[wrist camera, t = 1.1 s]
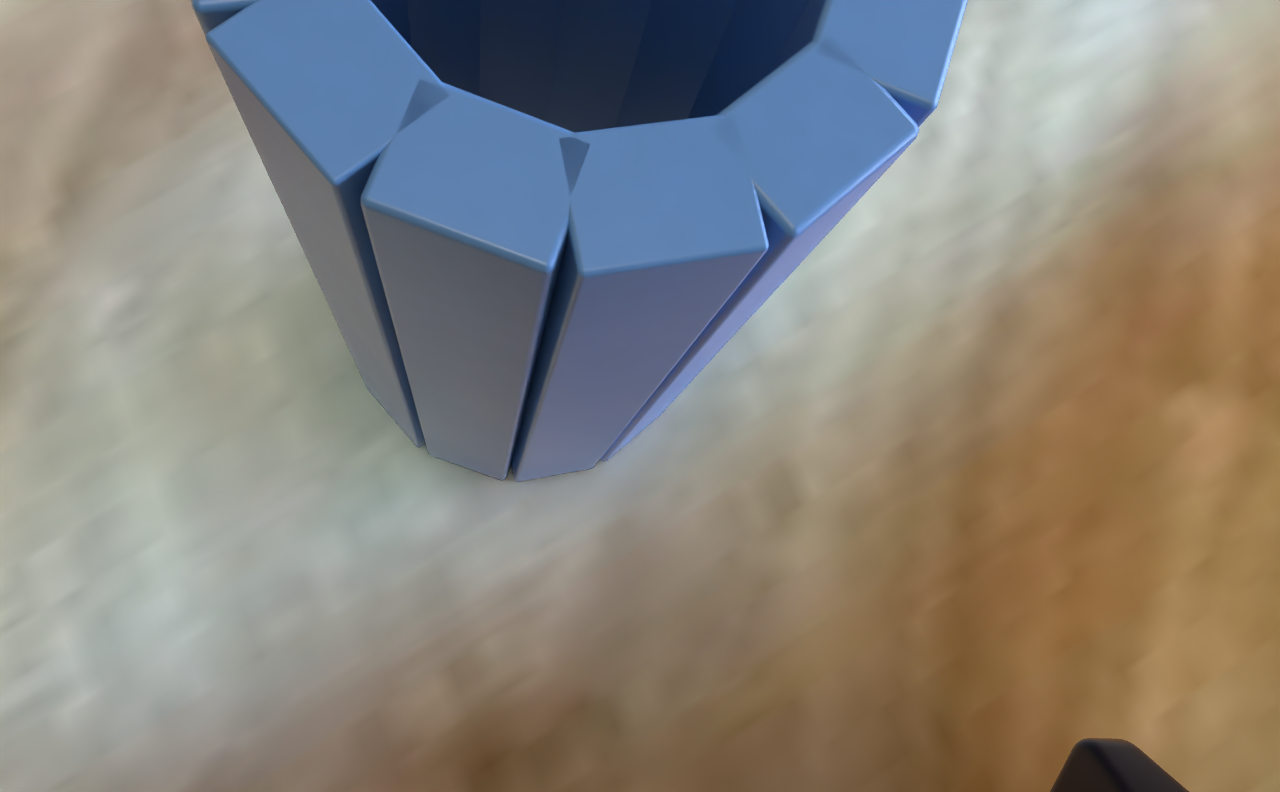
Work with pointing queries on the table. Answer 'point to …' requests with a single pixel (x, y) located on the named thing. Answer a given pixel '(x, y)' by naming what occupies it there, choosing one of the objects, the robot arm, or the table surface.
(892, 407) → the table surface
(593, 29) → the blue fluted tube
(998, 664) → the table surface
